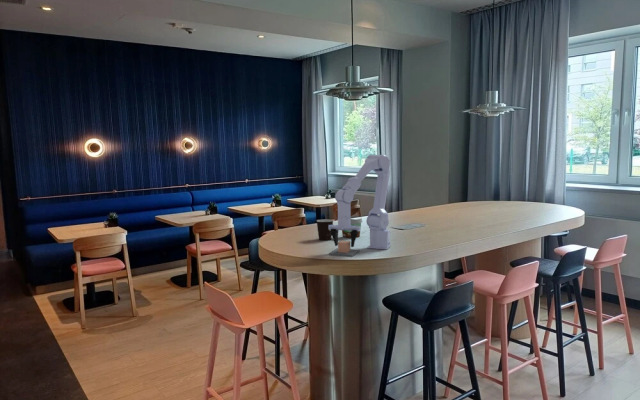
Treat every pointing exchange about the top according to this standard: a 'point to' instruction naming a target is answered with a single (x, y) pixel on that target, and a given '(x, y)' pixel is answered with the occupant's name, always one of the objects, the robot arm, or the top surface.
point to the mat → (351, 253)
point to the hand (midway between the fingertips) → (344, 246)
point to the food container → (353, 223)
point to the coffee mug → (324, 229)
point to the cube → (344, 246)
